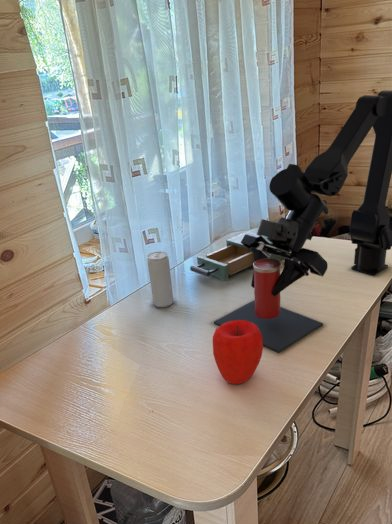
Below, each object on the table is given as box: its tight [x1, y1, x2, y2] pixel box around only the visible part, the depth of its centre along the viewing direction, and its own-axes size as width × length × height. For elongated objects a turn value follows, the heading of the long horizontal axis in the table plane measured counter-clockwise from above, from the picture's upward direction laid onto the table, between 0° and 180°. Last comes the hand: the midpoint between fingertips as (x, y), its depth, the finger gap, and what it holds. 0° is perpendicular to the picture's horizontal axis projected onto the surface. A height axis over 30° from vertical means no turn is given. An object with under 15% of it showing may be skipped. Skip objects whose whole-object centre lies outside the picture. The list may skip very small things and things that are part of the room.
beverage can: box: [146, 250, 174, 308], centre depth 117 cm, size 5×5×12 cm
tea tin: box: [252, 258, 282, 319], centre depth 104 cm, size 5×5×11 cm
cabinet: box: [225, 226, 288, 269], centre depth 138 cm, size 15×11×6 cm
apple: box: [212, 320, 264, 385], centre depth 90 cm, size 9×9×11 cm
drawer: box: [189, 244, 255, 281], centre depth 131 cm, size 18×10×4 cm, turn 132°
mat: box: [213, 299, 324, 354], centre depth 108 cm, size 18×14×1 cm
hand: (262, 290), depth 103 cm, fingers closed on tea tin, 5 cm apart
